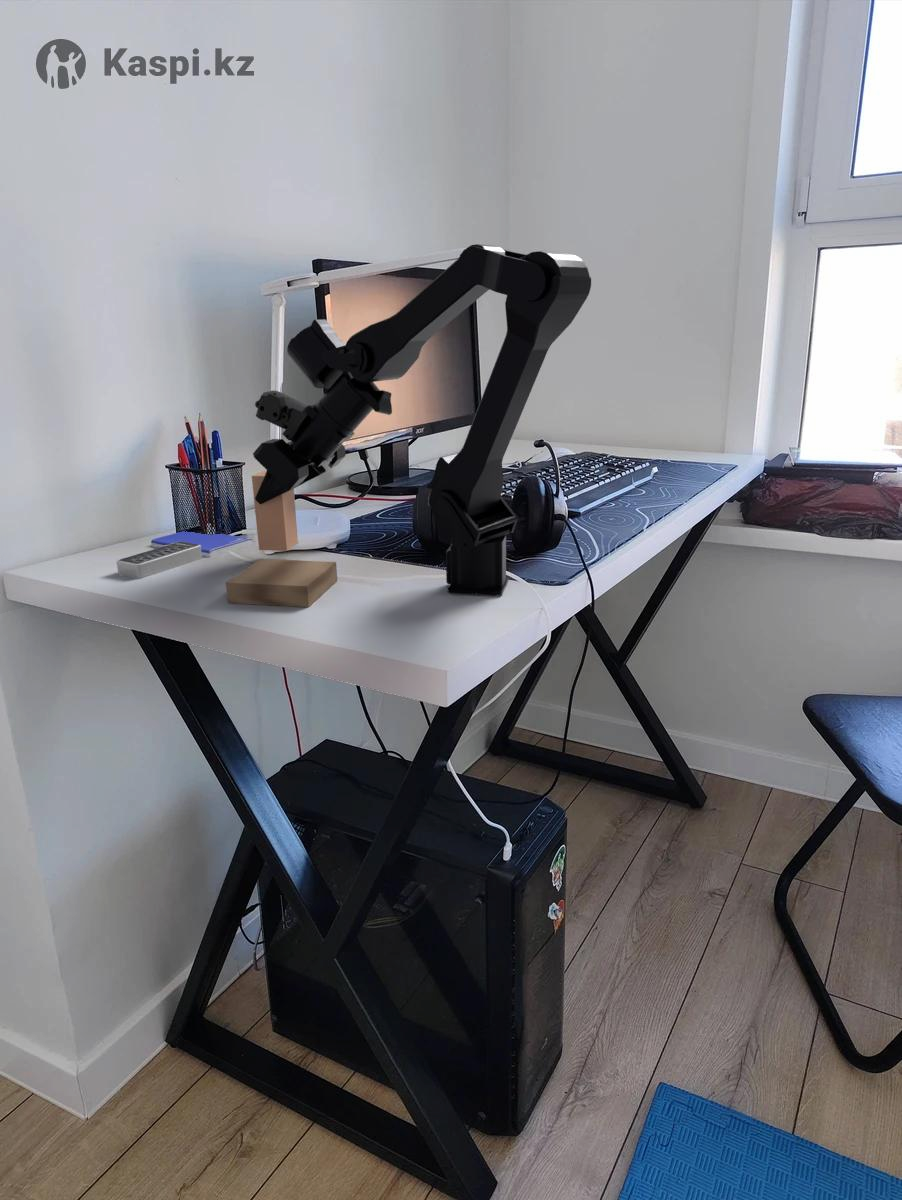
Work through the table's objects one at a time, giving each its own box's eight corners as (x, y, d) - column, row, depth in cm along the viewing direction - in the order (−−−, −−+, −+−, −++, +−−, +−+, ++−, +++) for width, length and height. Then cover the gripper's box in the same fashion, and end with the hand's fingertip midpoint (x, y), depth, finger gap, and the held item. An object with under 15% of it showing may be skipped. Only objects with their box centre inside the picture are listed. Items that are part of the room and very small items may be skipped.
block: (298, 543, 118) (292, 470, 114) (287, 550, 114) (280, 476, 111) (271, 542, 118) (264, 470, 115) (259, 550, 115) (251, 476, 111)
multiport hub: (117, 577, 112) (114, 560, 111) (181, 556, 121) (179, 540, 120) (140, 581, 110) (137, 564, 109) (203, 560, 119) (202, 544, 118)
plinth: (337, 581, 107) (336, 561, 106) (308, 607, 98) (307, 586, 97) (262, 577, 109) (261, 558, 108) (227, 602, 100) (225, 582, 99)
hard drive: (252, 537, 125) (194, 527, 132) (209, 549, 119) (150, 539, 125) (253, 547, 126) (195, 537, 132) (210, 560, 119) (151, 549, 125)
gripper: (317, 363, 116) (250, 444, 122) (261, 373, 99) (186, 467, 105) (376, 422, 117) (306, 500, 123) (330, 442, 100) (252, 531, 106)
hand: (264, 498), depth 114 cm, fingers closed on block, 4 cm apart
